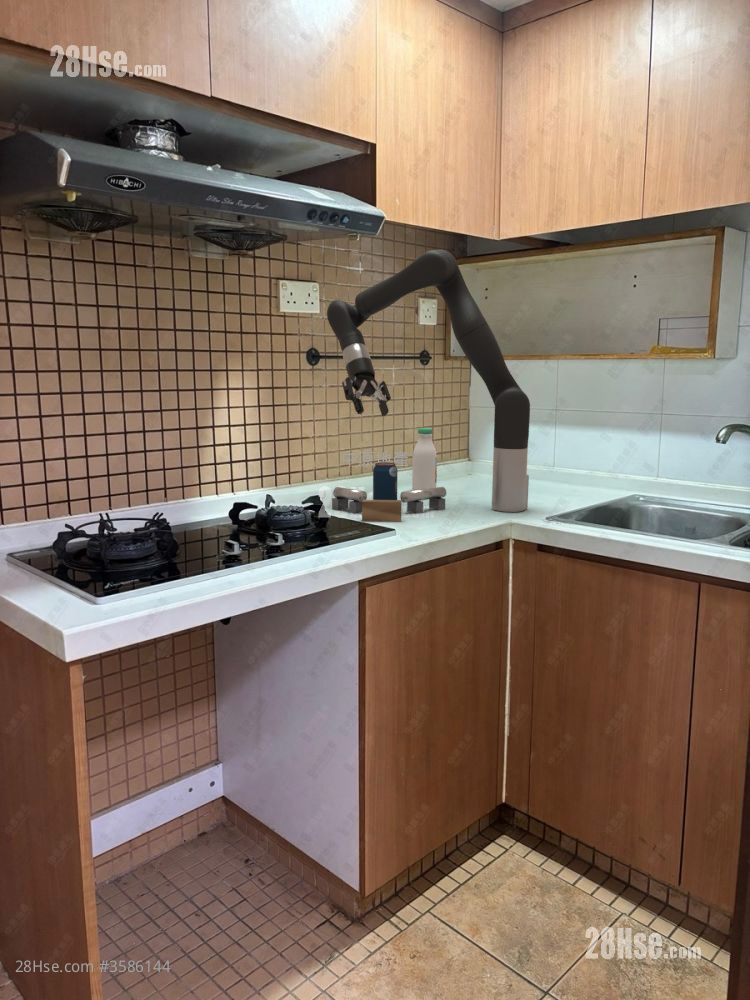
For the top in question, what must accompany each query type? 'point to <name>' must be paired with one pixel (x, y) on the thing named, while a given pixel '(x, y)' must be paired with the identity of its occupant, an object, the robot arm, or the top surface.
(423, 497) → the shaft
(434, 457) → the milk bottle
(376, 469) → the soda can
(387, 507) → the block
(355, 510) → the shaft
